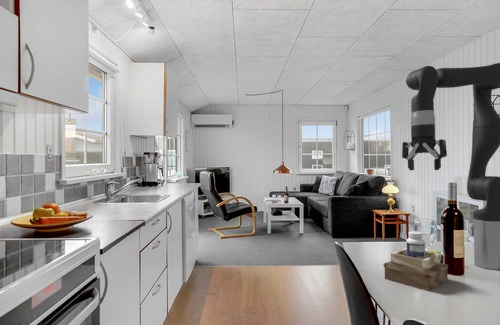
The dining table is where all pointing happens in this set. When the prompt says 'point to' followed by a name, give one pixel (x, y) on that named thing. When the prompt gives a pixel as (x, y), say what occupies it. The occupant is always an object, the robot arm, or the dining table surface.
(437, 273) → the box
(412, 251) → the pill bottle
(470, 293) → the dining table surface
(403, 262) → the top crate
